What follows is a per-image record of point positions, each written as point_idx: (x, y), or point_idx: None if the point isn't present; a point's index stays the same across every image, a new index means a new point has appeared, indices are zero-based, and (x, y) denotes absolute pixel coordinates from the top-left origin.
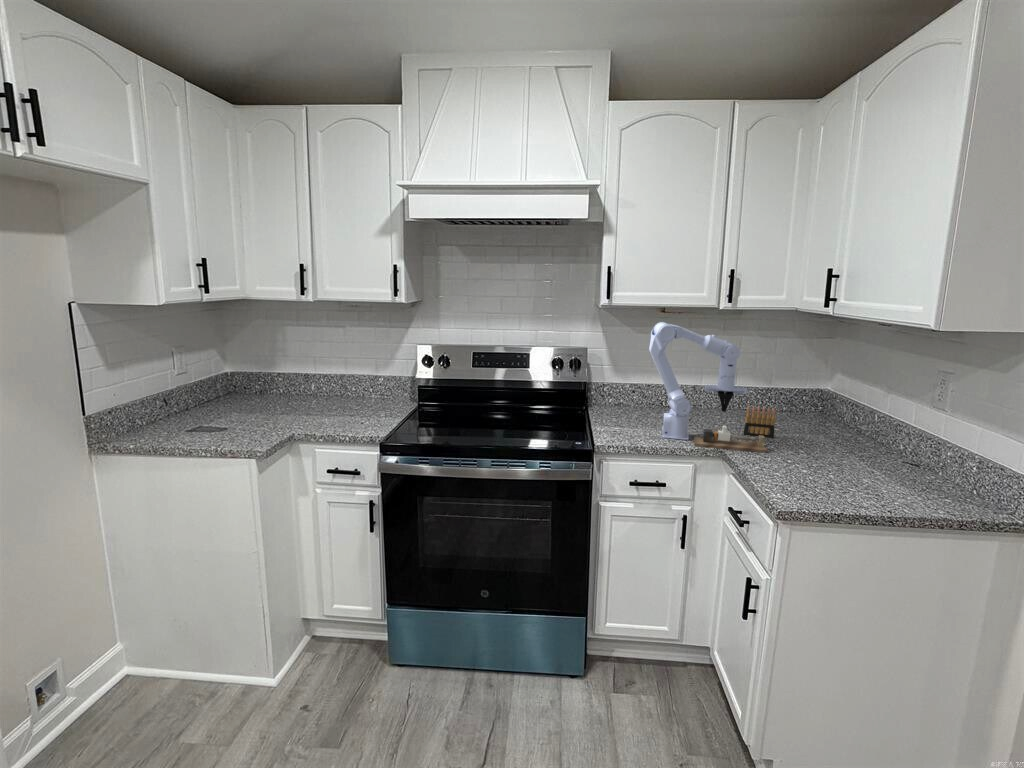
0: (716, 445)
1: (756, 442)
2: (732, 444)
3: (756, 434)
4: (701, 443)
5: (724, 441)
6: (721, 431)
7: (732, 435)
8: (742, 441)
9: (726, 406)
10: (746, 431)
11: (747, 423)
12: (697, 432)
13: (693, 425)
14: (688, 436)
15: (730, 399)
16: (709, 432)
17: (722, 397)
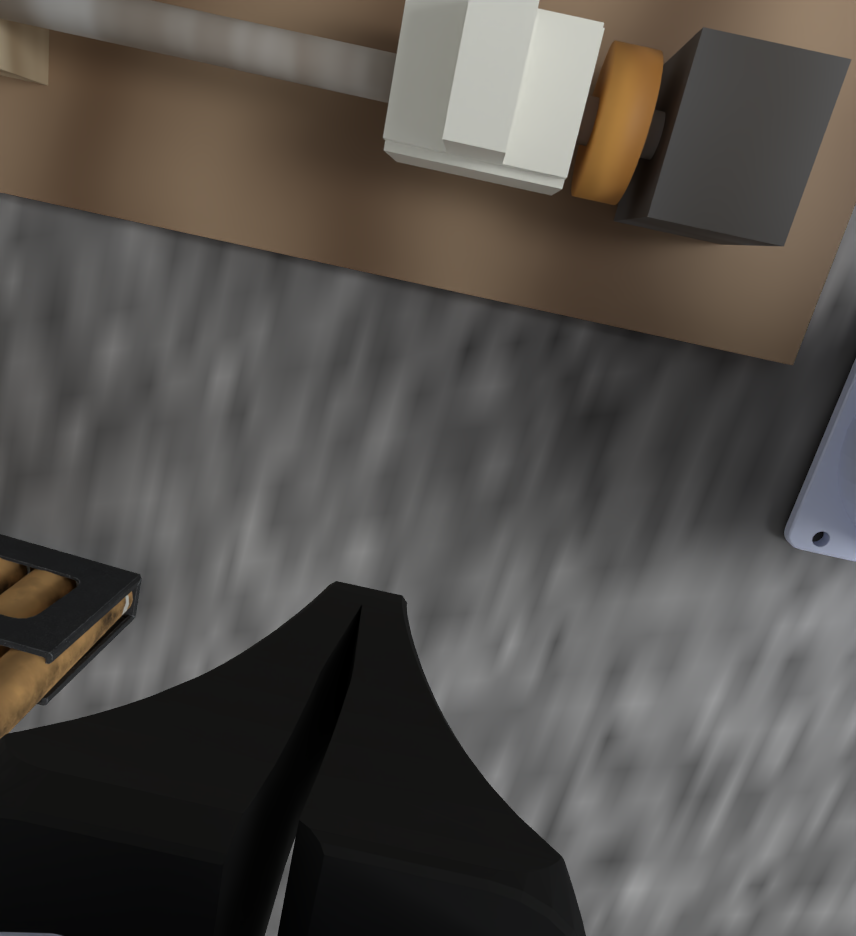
0: None
1: (49, 190)
2: (384, 36)
3: (2, 549)
4: (828, 20)
5: (453, 181)
6: (533, 99)
7: (362, 62)
8: (215, 214)
9: (302, 624)
10: (92, 590)
11: (30, 643)
12: (624, 634)
13: (577, 860)
14: (840, 411)
15: (131, 707)
16: (760, 41)
17: (410, 794)
